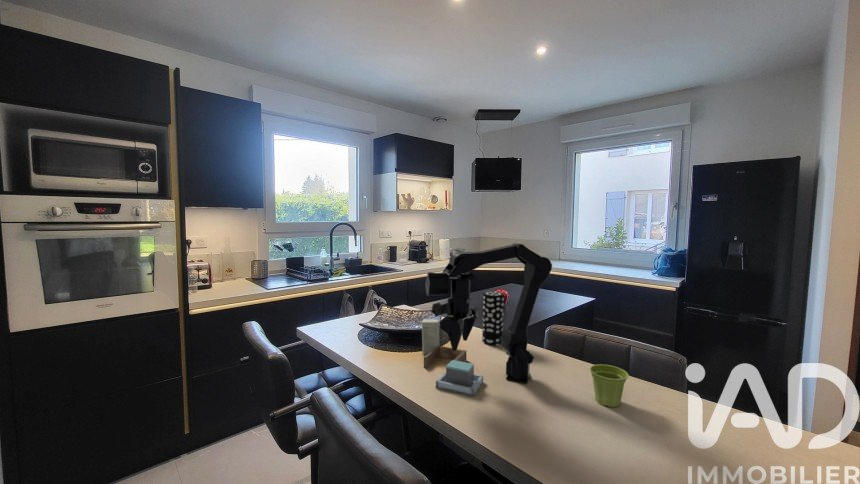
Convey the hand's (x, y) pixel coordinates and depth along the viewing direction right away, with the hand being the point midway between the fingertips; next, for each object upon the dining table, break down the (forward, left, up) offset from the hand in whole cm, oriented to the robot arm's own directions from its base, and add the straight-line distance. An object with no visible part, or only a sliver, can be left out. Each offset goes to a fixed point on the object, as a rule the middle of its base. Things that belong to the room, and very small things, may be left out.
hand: (459, 345), depth 106 cm
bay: (+10, -12, -12) cm, 19 cm away
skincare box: (+19, -19, -12) cm, 29 cm away
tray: (0, +1, -12) cm, 12 cm away
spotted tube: (+1, -40, -12) cm, 42 cm away
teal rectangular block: (0, +1, -11) cm, 11 cm away
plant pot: (-40, -8, -12) cm, 43 cm away
